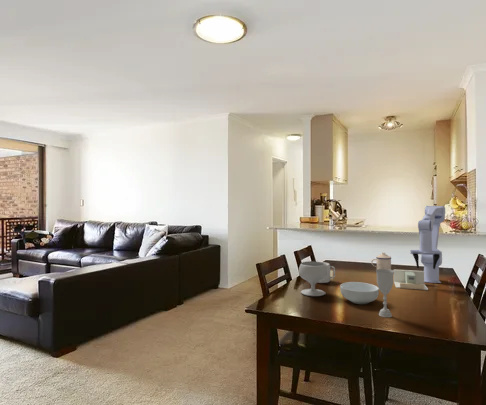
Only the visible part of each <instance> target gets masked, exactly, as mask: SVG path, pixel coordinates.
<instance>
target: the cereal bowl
mask: <svg viewBox="0 0 486 405" xmlns="http://www.w3.org/2000/svg"><path fill="white" fill-rule="evenodd" d="M339 286H340V287H339V289H340V290H339V291H340V293H341V295H342V297H343V298H344V299H346V300H348V301H349V302H351V303H352V304H356V305H357V304H358V305H368V304H369V303H371V302H374V301H375V300H377V298H378V296H379V293H380V289H379V287H378V285H374V284H373V283H367V282H361V281H347V282H343V283H341V284H340V285H339Z"/></svg>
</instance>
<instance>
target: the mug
mask: <svg viewBox="0 0 486 405" xmlns="http://www.w3.org/2000/svg"><path fill="white" fill-rule="evenodd" d="M321 262H322V261H321ZM322 263H324V264H325V266H326V268H327V276H326V277H325V278H324V279H323V280H321V281H319V282H317V283H318V284H325V283H326V284H327V283H329V282H331V279H334V278H335V277H336V268H335V266H333V265H331V264H330V263H329V262H325V261H323V262H322ZM331 268H332V269H333V276H331ZM317 283H316V284H317Z"/></svg>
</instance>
